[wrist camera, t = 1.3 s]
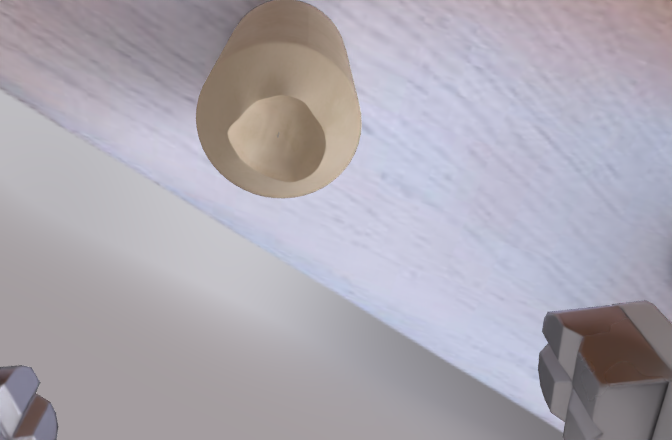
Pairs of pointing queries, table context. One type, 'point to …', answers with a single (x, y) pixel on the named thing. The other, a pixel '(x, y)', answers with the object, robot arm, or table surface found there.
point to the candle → (280, 103)
